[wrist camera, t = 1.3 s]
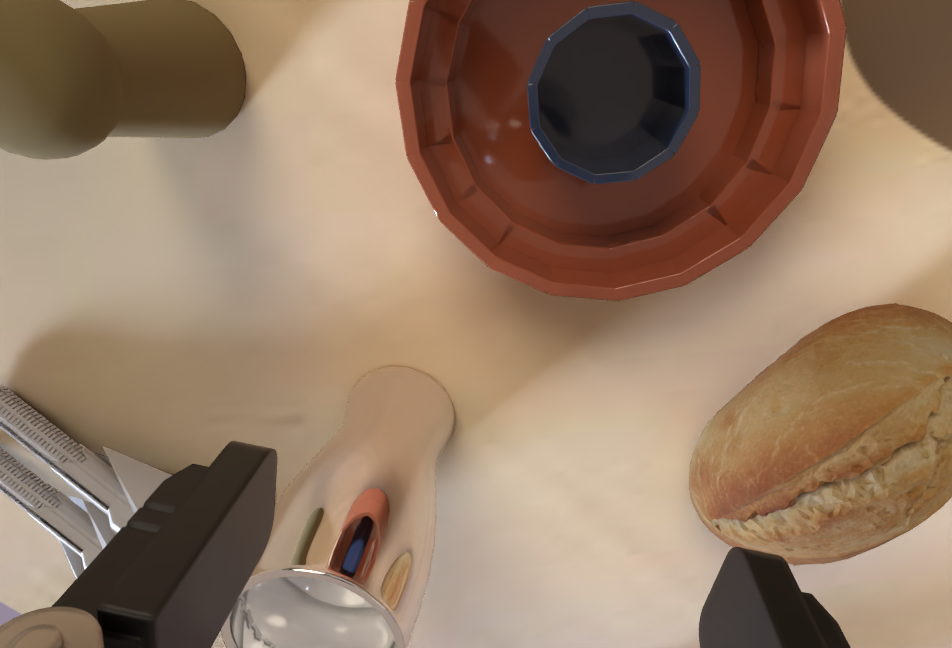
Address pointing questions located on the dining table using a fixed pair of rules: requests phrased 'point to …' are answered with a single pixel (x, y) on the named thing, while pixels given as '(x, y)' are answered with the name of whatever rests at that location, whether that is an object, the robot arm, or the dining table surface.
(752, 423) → the bread roll
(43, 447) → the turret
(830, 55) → the serving bowl
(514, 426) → the dining table surface
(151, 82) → the cork
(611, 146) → the bowl
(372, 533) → the beer glass
